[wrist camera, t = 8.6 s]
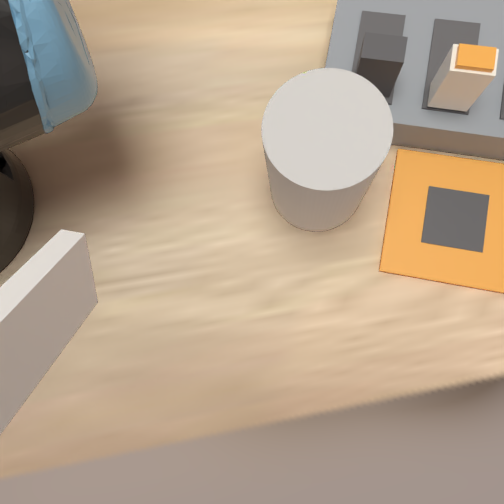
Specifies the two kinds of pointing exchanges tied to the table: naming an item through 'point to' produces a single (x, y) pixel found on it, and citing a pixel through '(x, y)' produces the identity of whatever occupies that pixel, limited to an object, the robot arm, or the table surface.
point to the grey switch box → (424, 67)
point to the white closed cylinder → (324, 145)
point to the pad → (446, 220)
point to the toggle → (463, 76)
